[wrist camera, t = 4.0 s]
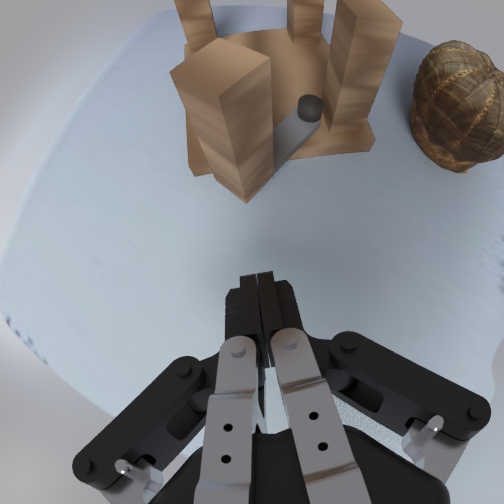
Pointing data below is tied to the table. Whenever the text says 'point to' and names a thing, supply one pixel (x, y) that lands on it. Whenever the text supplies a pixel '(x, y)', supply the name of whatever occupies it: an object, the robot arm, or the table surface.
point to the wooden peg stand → (311, 68)
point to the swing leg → (240, 115)
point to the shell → (458, 107)
